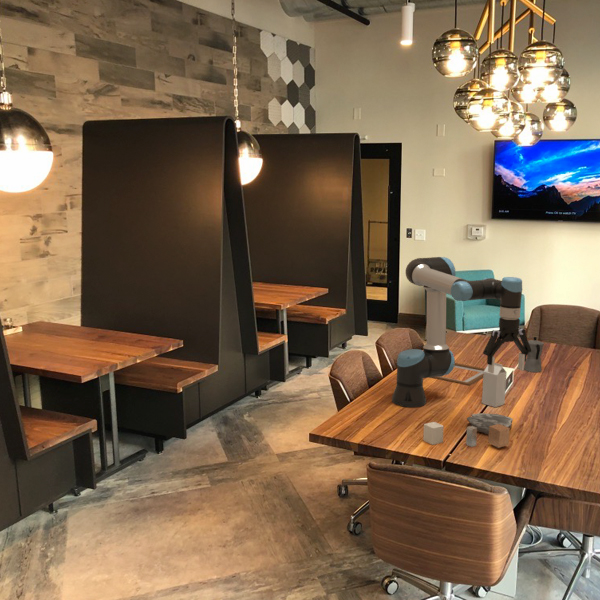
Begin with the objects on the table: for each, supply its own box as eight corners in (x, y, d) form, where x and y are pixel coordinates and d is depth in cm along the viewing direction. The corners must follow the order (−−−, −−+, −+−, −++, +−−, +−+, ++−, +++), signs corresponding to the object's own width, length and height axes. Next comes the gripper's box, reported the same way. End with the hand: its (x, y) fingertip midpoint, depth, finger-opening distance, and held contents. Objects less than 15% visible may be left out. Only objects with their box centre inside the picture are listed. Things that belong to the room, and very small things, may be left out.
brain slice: (479, 416, 283) (479, 409, 282) (518, 426, 272) (518, 419, 272) (458, 429, 268) (458, 422, 267) (498, 440, 257) (499, 432, 257)
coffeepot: (520, 366, 358) (522, 333, 355) (538, 366, 358) (541, 334, 354) (527, 374, 343) (530, 340, 340) (546, 375, 343) (549, 341, 339)
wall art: (428, 357, 371) (494, 370, 348) (428, 360, 371) (493, 372, 348) (400, 370, 346) (469, 384, 324) (400, 372, 347) (469, 386, 324)
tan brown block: (488, 445, 251) (489, 426, 250) (497, 442, 254) (498, 423, 253) (498, 450, 247) (499, 430, 246) (508, 447, 250) (509, 428, 248)
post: (466, 444, 252) (467, 427, 251) (471, 443, 253) (472, 425, 252) (471, 447, 250) (472, 429, 248) (476, 445, 251) (477, 428, 250)
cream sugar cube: (423, 440, 256) (424, 424, 254) (433, 437, 258) (434, 421, 257) (432, 445, 251) (433, 428, 250) (442, 442, 254) (443, 425, 253)
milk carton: (495, 407, 293) (497, 366, 289) (481, 403, 298) (484, 362, 295) (504, 404, 297) (507, 363, 294) (491, 400, 303) (493, 360, 299)
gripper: (487, 321, 247) (483, 376, 251) (543, 317, 255) (539, 371, 259) (475, 317, 254) (472, 371, 258) (530, 314, 262) (526, 365, 266)
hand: (505, 371), depth 259 cm, fingers open, 13 cm apart
